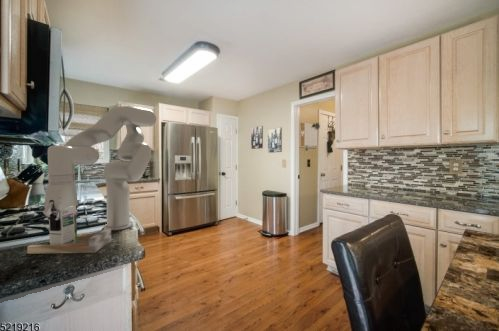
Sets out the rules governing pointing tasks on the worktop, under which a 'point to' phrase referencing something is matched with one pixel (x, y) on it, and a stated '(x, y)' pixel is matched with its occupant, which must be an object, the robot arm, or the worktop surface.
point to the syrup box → (65, 227)
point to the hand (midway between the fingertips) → (63, 226)
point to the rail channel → (75, 244)
